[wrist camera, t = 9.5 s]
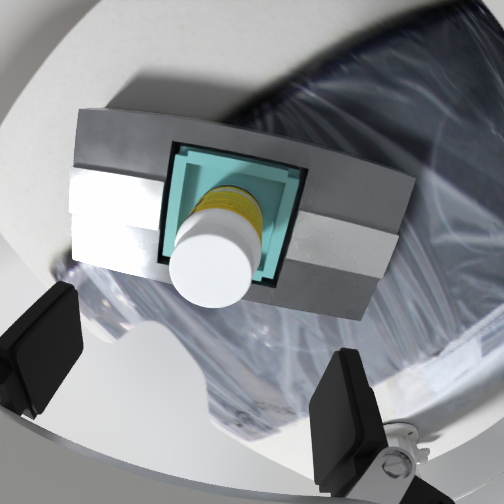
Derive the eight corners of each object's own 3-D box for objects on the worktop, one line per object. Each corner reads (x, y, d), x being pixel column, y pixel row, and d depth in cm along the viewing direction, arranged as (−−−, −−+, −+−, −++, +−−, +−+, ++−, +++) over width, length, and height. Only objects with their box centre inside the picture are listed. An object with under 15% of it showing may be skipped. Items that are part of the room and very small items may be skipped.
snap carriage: (297, 165, 23) (302, 173, 20) (271, 264, 26) (271, 284, 23) (187, 143, 22) (175, 147, 19) (172, 243, 26) (161, 260, 23)
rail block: (395, 168, 23) (418, 179, 19) (350, 294, 28) (361, 323, 24) (104, 107, 22) (75, 109, 18) (94, 240, 27) (70, 261, 23)
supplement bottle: (201, 177, 21) (164, 215, 14) (269, 189, 22) (271, 235, 14) (192, 240, 23) (159, 304, 16) (256, 252, 23) (250, 323, 16)
